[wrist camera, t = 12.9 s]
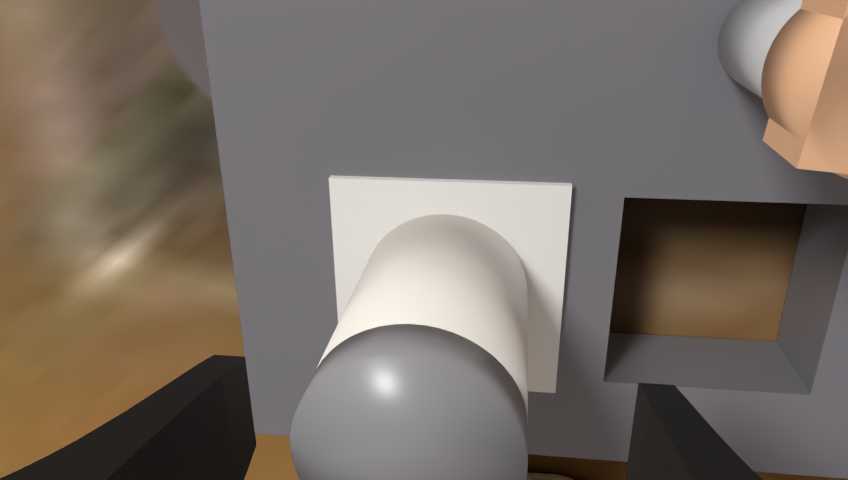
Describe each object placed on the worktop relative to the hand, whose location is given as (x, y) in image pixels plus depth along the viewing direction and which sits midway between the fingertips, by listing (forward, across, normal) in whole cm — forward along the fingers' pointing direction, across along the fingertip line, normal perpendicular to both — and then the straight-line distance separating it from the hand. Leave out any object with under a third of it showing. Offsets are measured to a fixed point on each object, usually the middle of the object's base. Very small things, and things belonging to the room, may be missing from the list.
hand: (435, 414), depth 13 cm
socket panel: (+8, -4, -2) cm, 9 cm away
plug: (+5, 0, 0) cm, 5 cm away
